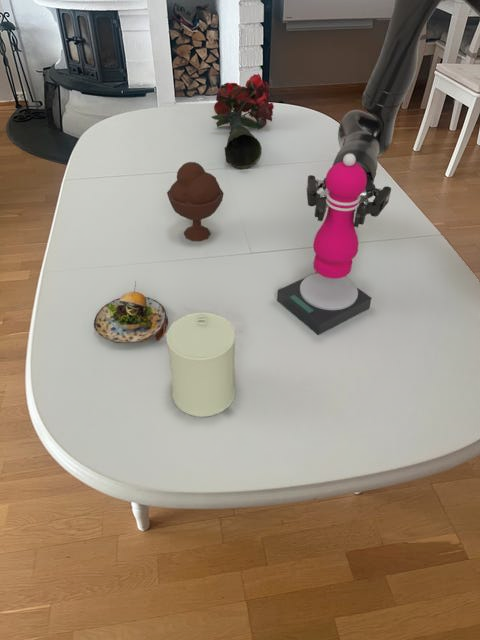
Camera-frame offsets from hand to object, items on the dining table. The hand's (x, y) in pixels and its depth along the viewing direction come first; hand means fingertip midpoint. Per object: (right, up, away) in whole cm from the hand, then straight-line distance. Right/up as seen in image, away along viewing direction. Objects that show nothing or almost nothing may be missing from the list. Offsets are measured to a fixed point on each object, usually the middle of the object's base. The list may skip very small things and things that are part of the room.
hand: (338, 218), depth 78 cm
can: (-20, -26, -2) cm, 33 cm away
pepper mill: (+1, -7, +9) cm, 12 cm away
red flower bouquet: (-14, +34, +66) cm, 76 cm away
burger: (-33, -16, +9) cm, 38 cm away
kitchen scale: (0, -13, +14) cm, 18 cm away
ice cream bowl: (-24, +2, +30) cm, 39 cm away
